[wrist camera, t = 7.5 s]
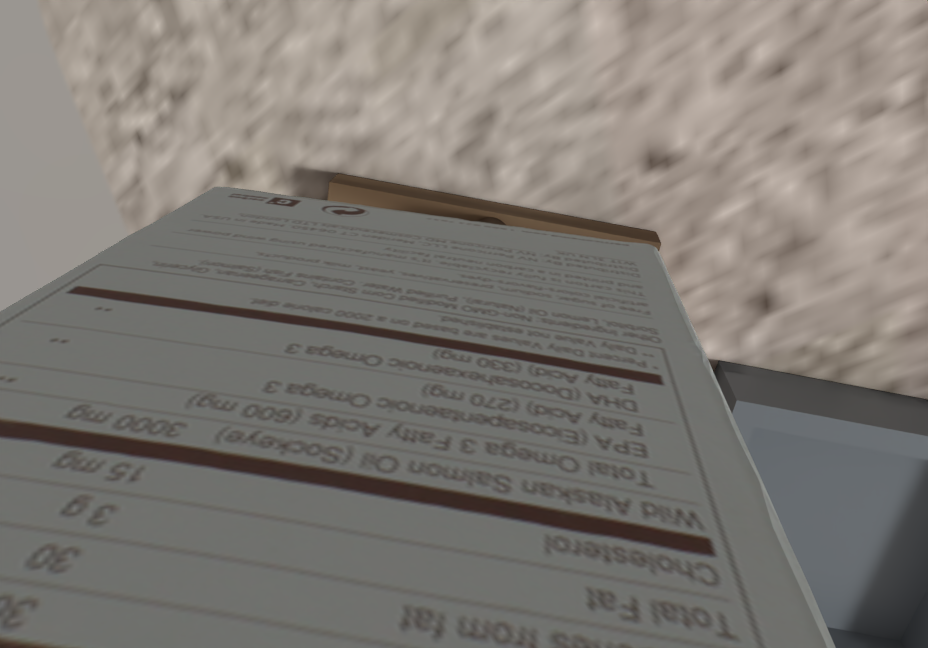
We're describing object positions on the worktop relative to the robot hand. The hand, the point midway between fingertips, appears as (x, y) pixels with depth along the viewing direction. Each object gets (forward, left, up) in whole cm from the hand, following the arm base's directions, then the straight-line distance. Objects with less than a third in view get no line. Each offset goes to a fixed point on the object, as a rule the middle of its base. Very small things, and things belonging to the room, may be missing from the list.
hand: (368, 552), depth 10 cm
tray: (+13, +18, -23) cm, 32 cm away
